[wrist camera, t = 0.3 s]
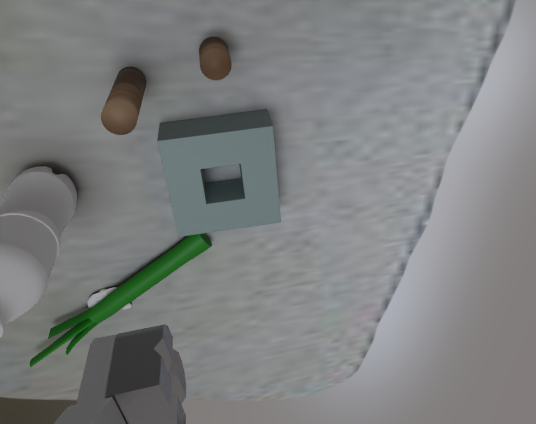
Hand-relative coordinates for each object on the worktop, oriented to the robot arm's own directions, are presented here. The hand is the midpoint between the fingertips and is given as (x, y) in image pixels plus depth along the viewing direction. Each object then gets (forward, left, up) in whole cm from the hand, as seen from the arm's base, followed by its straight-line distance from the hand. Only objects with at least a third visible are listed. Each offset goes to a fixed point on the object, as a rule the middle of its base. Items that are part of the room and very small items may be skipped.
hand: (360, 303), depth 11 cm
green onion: (+36, -19, -46) cm, 62 cm away
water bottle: (+19, -23, -46) cm, 55 cm away
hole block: (+19, -3, -46) cm, 50 cm away
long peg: (+8, -11, -46) cm, 48 cm away
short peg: (+6, -2, -46) cm, 47 cm away
